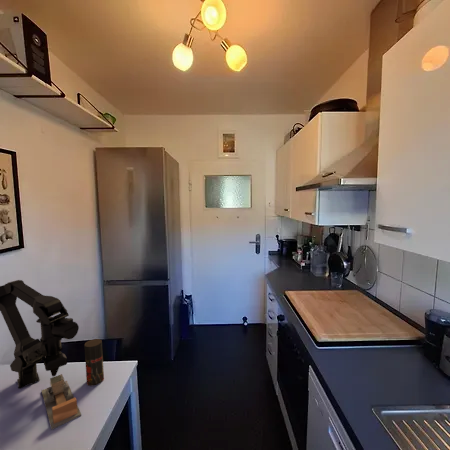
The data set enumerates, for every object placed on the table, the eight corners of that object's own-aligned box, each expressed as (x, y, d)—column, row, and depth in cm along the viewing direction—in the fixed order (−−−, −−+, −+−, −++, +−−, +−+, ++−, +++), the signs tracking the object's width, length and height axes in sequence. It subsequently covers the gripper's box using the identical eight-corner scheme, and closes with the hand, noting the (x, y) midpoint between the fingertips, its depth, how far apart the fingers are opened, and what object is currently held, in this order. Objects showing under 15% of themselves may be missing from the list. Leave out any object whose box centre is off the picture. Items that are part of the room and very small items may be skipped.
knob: (47, 396, 93) (46, 379, 93) (67, 388, 97) (65, 372, 97) (49, 403, 90) (47, 385, 90) (69, 394, 94) (68, 377, 94)
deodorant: (105, 381, 102) (103, 343, 101) (87, 388, 99) (85, 348, 98) (102, 373, 107) (100, 337, 106) (85, 379, 104) (83, 341, 103)
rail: (41, 392, 97) (40, 378, 97) (66, 382, 103) (66, 369, 102) (51, 429, 81) (50, 413, 80) (81, 415, 86) (80, 400, 85)
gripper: (21, 332, 100) (24, 373, 101) (25, 353, 85) (29, 400, 87) (56, 323, 107) (59, 361, 108) (66, 341, 93) (68, 384, 94)
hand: (53, 375), depth 99 cm, fingers closed
